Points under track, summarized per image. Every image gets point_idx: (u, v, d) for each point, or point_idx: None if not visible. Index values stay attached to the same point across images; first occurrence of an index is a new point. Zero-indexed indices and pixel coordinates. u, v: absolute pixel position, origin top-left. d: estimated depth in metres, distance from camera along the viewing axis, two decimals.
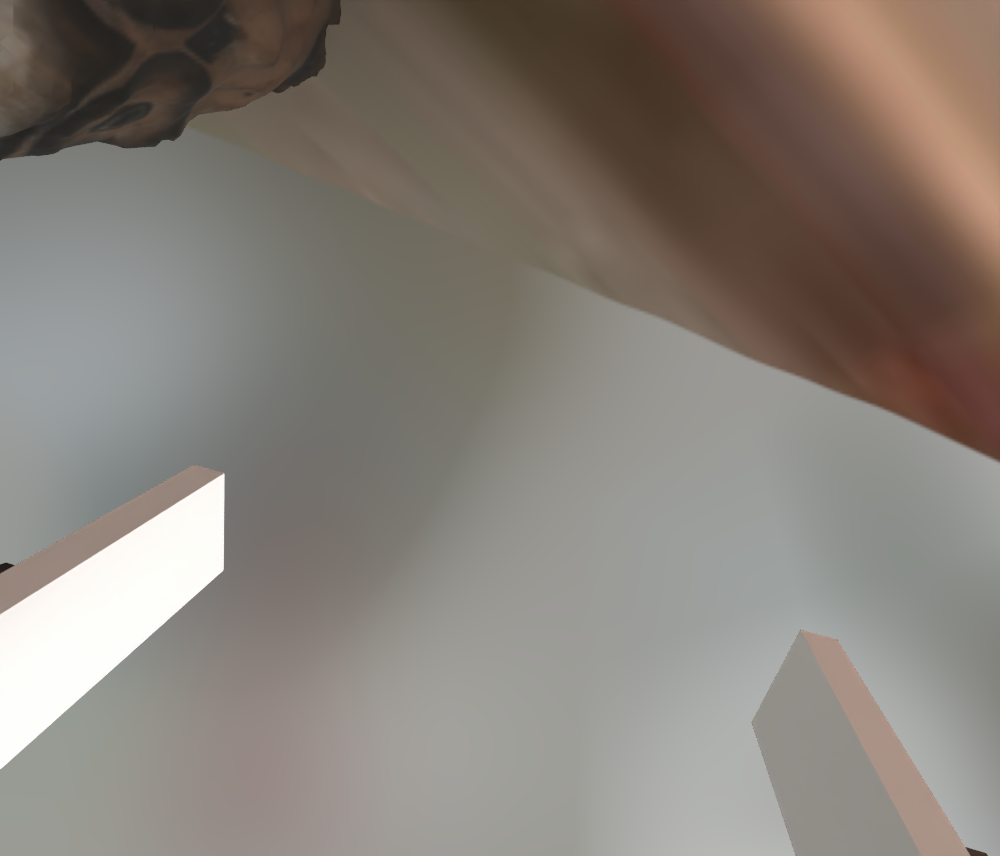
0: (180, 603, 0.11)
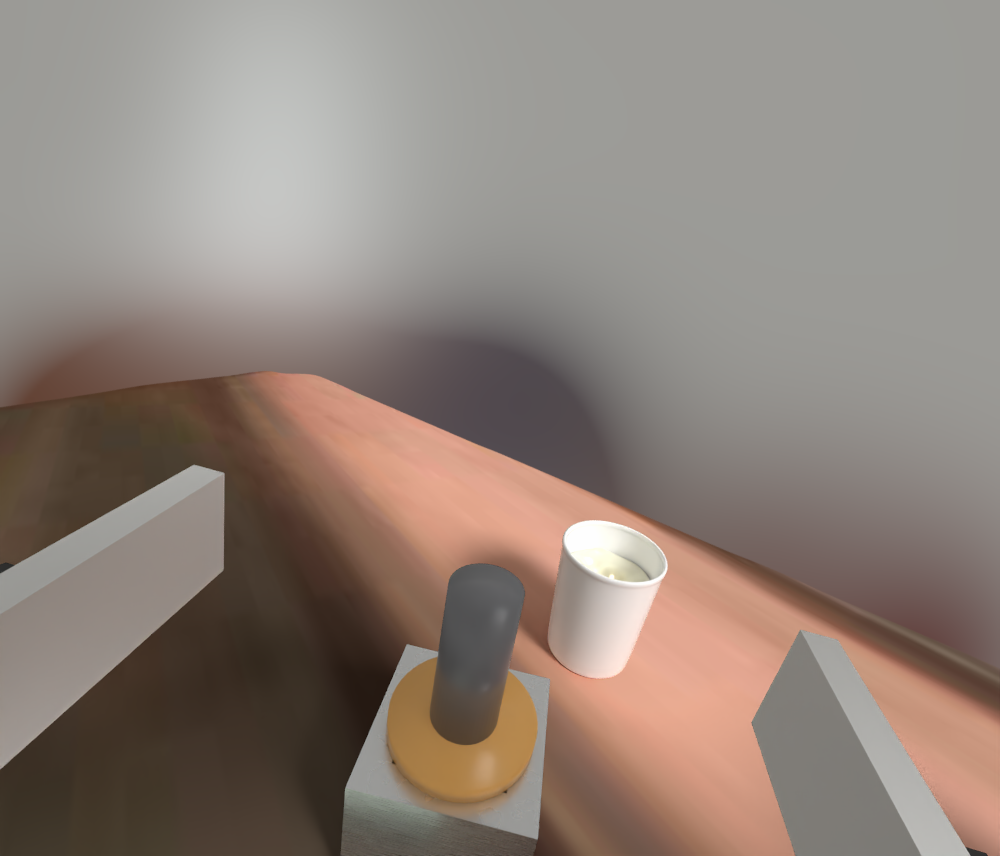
0: (180, 603, 0.11)
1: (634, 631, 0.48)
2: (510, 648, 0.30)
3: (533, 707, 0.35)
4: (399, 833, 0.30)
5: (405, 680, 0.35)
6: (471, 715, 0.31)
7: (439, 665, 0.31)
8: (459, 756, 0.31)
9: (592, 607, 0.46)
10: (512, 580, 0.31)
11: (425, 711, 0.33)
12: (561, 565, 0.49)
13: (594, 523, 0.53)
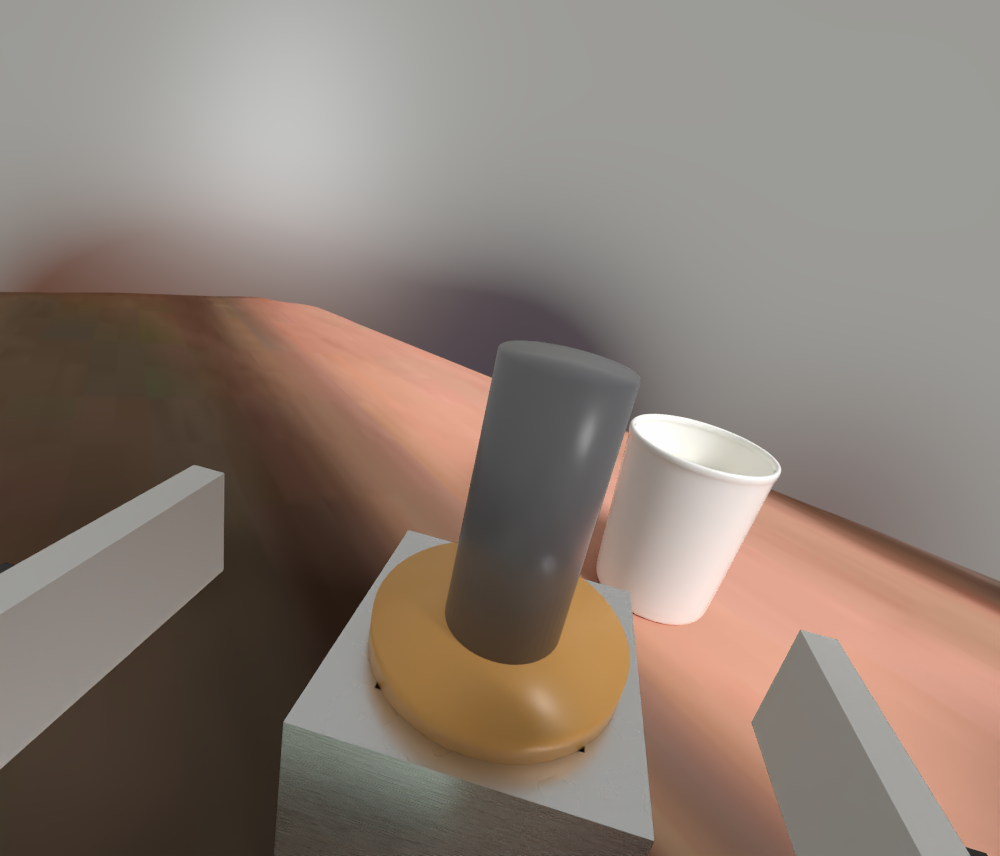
0: (180, 603, 0.11)
1: (728, 556, 0.34)
2: (607, 479, 0.16)
3: (617, 620, 0.21)
4: (382, 817, 0.16)
5: (405, 565, 0.21)
6: (525, 606, 0.17)
7: (470, 513, 0.17)
8: (499, 681, 0.17)
9: (675, 514, 0.32)
10: (611, 364, 0.17)
11: (437, 609, 0.19)
12: (627, 461, 0.35)
13: (667, 418, 0.39)
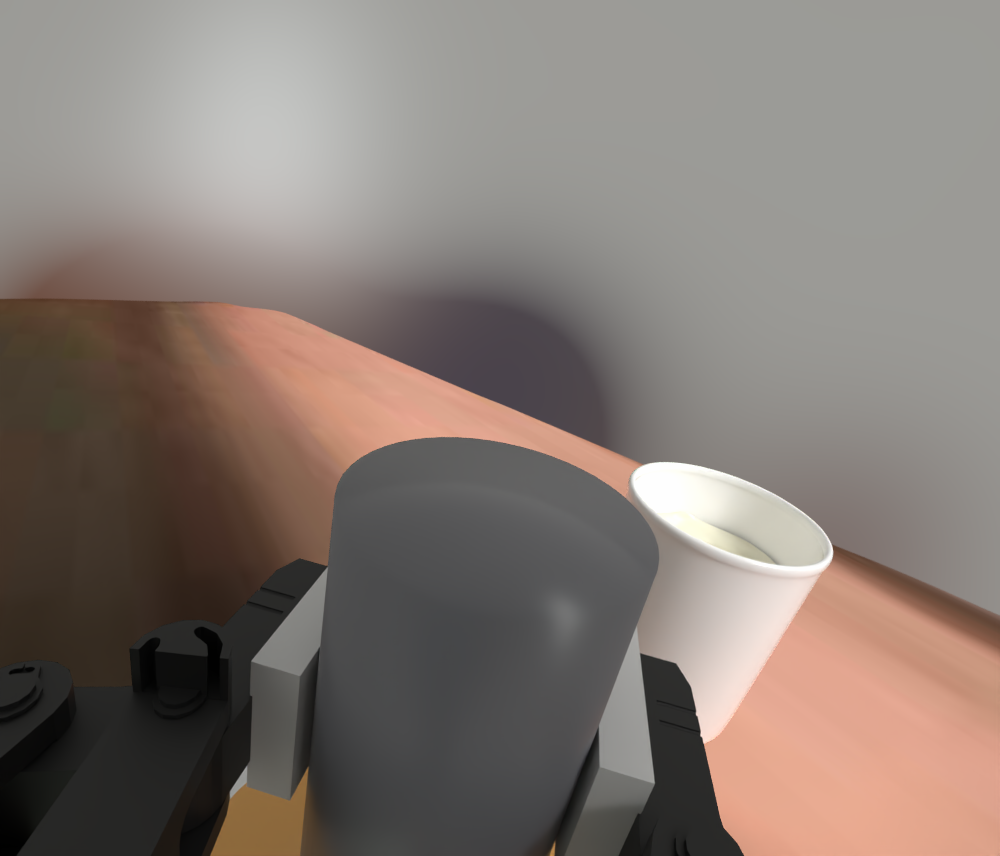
0: None
1: (761, 663, 0.25)
2: (584, 759, 0.07)
3: None
4: None
5: (249, 793, 0.12)
6: None
7: (307, 799, 0.08)
8: None
9: (691, 613, 0.23)
10: (594, 493, 0.08)
11: None
12: None
13: (676, 467, 0.30)
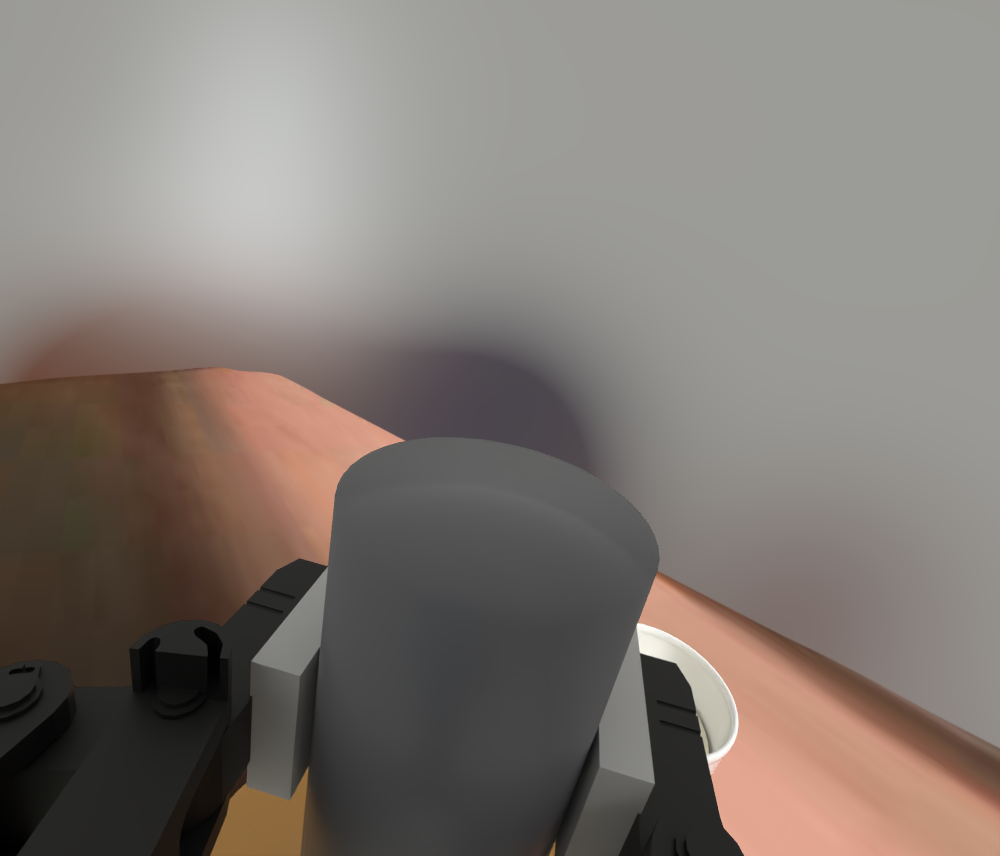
0: None
1: None
2: (584, 758, 0.07)
3: None
4: None
5: (250, 793, 0.12)
6: None
7: (307, 799, 0.08)
8: None
9: None
10: (594, 493, 0.08)
11: None
12: None
13: None
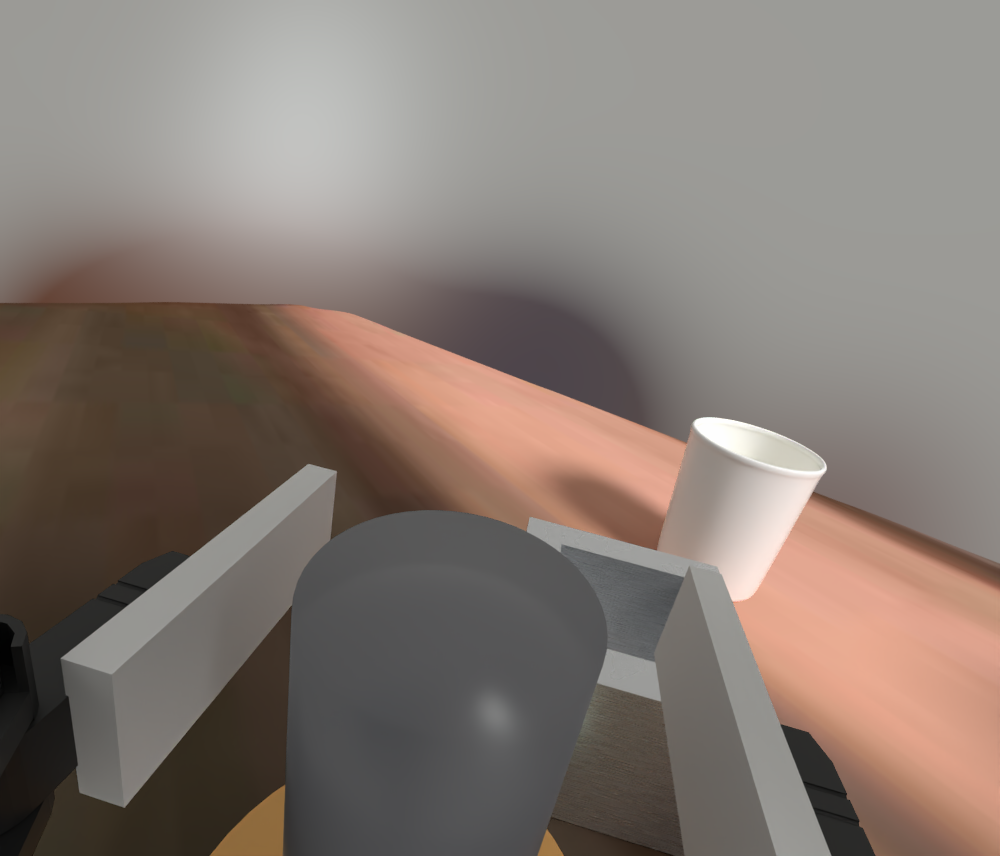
0: None
1: (781, 541, 0.39)
2: (542, 834, 0.08)
3: None
4: None
5: (240, 835, 0.13)
6: None
7: None
8: None
9: (737, 504, 0.37)
10: (552, 571, 0.08)
11: None
12: (691, 459, 0.40)
13: (720, 421, 0.44)
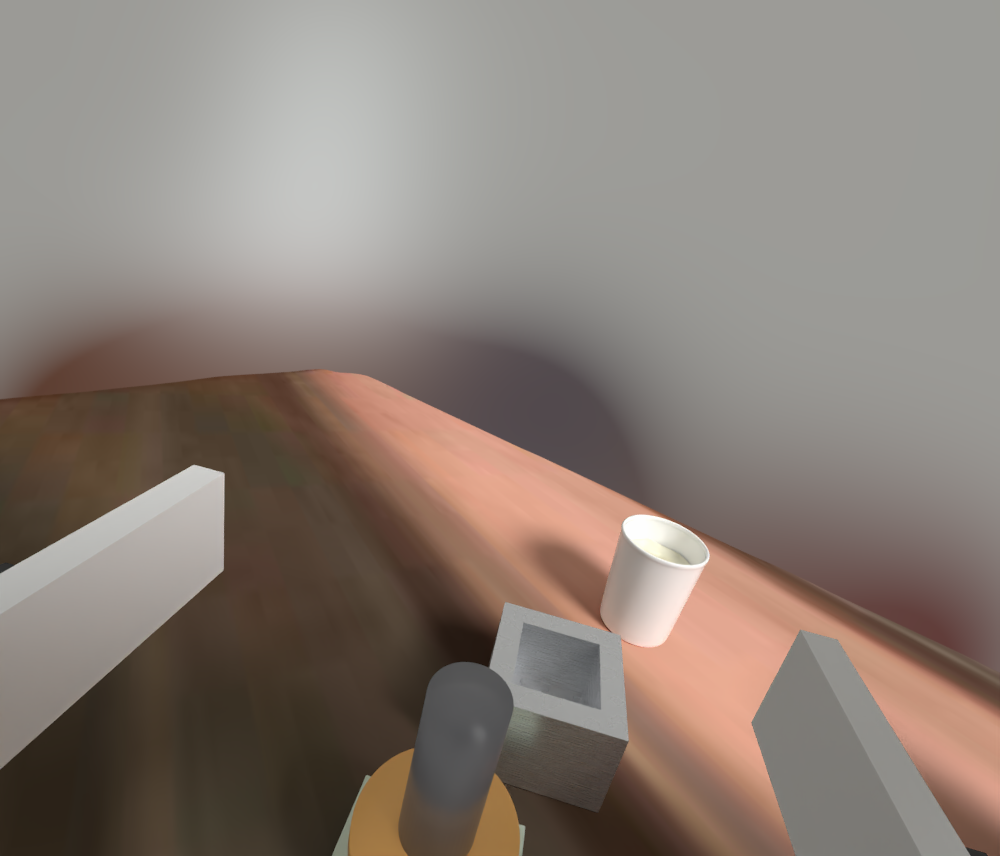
0: (180, 603, 0.11)
1: (679, 607, 0.57)
2: (493, 768, 0.26)
3: (516, 819, 0.31)
4: (518, 736, 0.39)
5: (374, 779, 0.31)
6: (444, 840, 0.27)
7: (411, 779, 0.27)
8: None
9: (647, 584, 0.56)
10: (500, 687, 0.27)
11: (393, 822, 0.29)
12: (619, 549, 0.58)
13: (645, 517, 0.62)
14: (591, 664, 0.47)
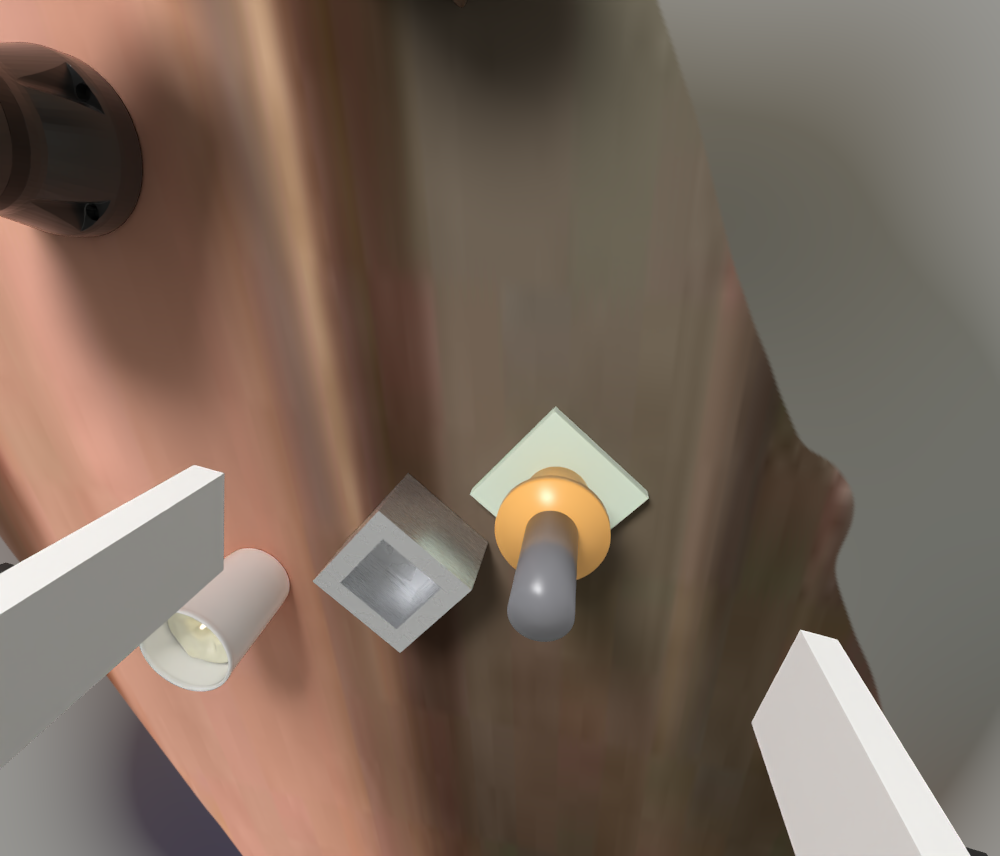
0: (180, 603, 0.11)
1: None
2: (532, 559, 0.36)
3: (499, 511, 0.43)
4: (450, 549, 0.49)
5: (578, 576, 0.44)
6: (563, 529, 0.40)
7: None
8: (573, 509, 0.42)
9: (240, 611, 0.52)
10: (514, 610, 0.34)
11: (577, 548, 0.43)
12: (241, 657, 0.52)
13: (180, 683, 0.52)
14: None
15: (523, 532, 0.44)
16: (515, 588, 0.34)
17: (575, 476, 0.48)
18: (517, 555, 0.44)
